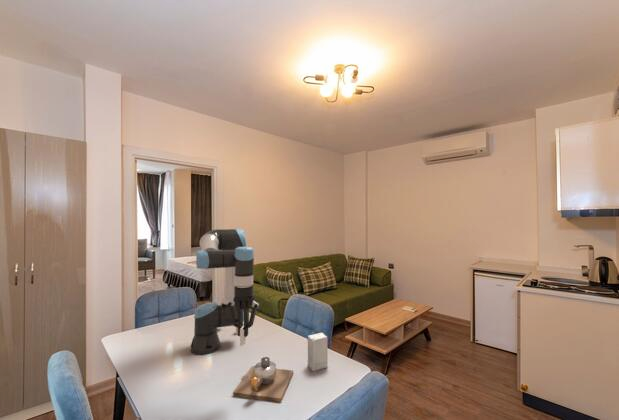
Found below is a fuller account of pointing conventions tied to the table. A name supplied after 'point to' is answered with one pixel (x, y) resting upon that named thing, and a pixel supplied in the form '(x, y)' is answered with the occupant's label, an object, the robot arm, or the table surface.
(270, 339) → the table surface
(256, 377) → the silver round pot
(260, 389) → the brown wooden board
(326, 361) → the skincare box
